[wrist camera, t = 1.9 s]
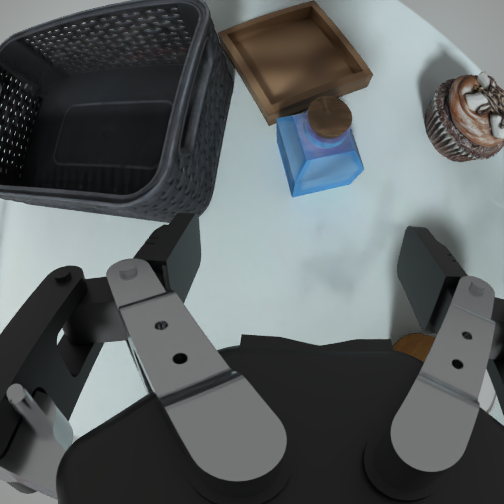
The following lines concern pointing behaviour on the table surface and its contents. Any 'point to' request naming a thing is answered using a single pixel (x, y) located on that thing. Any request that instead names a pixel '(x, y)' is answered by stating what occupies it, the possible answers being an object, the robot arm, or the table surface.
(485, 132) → the cupcake
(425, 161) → the table surface
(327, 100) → the perfume bottle
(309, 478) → the robot arm
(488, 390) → the disposable coffee cup
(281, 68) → the tray
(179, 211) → the storage bin
